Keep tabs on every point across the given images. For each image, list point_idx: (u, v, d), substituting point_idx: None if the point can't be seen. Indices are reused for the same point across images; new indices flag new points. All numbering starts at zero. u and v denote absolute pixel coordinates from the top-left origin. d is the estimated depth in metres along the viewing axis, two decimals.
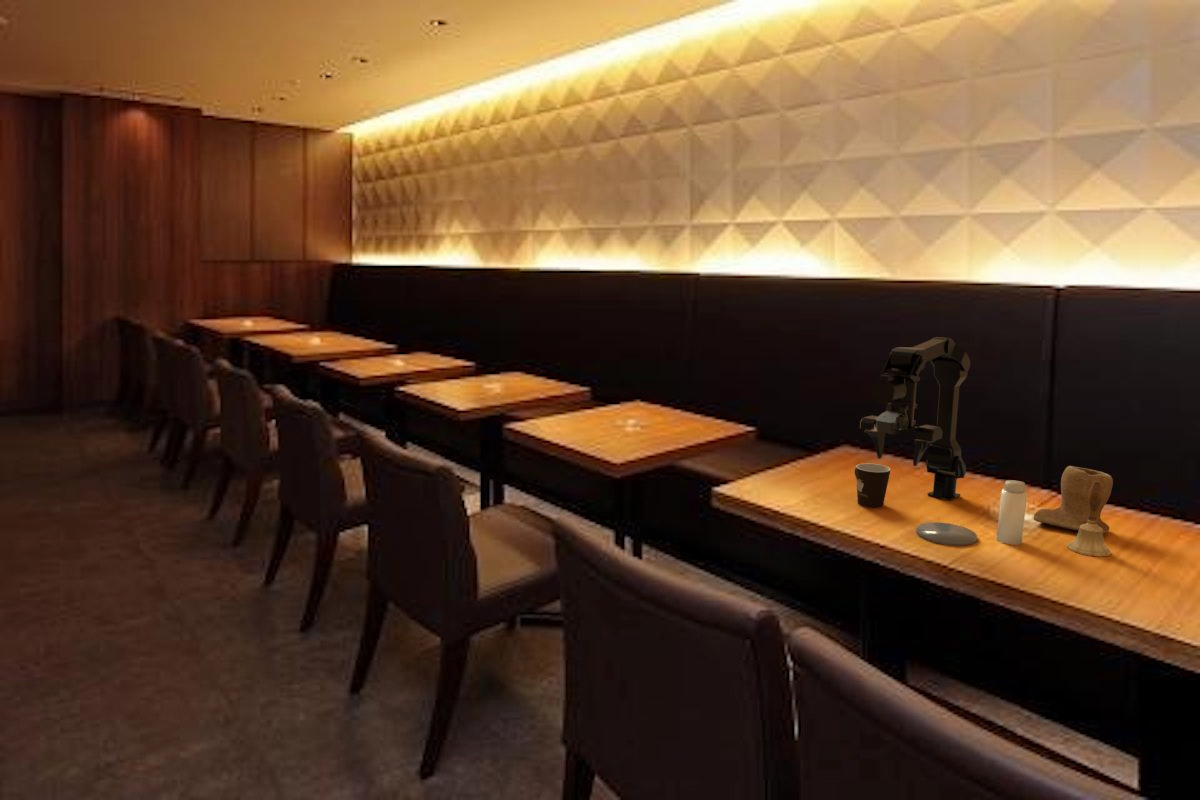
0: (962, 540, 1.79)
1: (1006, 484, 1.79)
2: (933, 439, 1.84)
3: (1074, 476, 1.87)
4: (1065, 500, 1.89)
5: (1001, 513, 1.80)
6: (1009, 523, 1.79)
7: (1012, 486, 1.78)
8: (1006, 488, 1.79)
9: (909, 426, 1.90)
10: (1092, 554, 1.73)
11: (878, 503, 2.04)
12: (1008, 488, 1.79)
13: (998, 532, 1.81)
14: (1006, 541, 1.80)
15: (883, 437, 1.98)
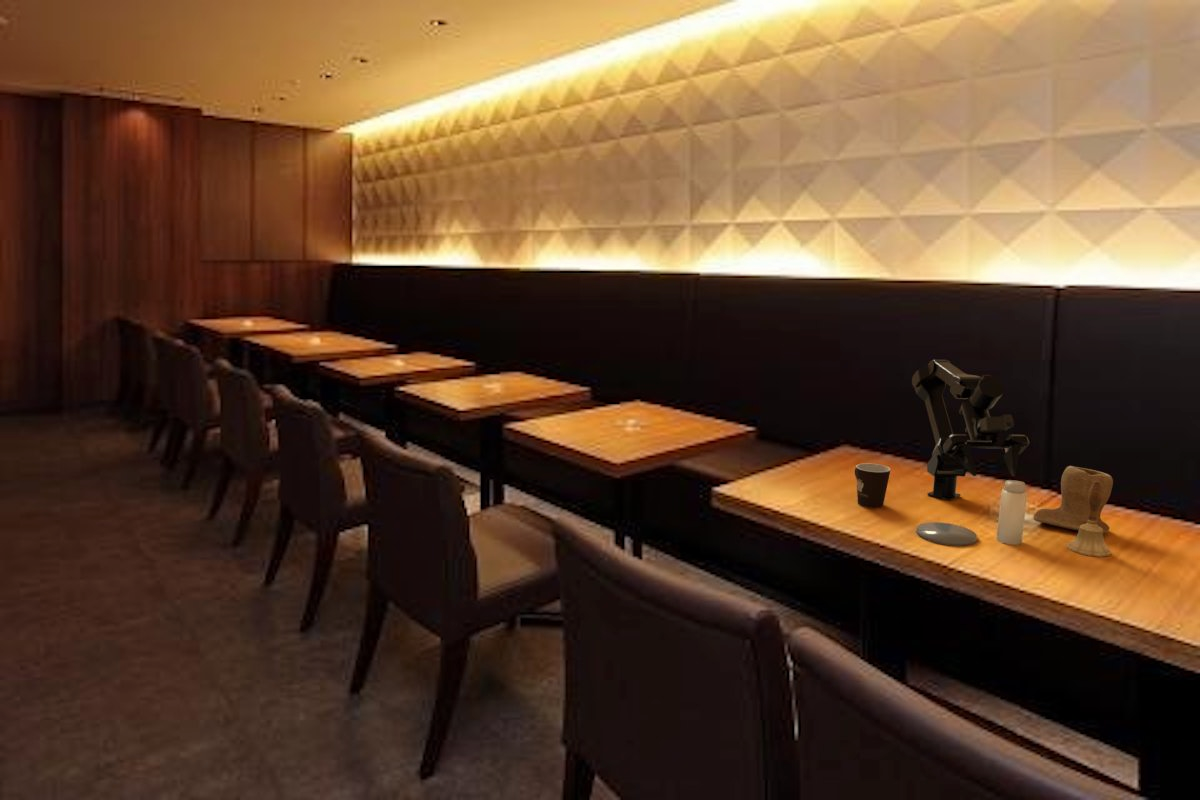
0: (962, 540, 1.79)
1: (1006, 484, 1.79)
2: None
3: (1074, 476, 1.87)
4: (1065, 500, 1.89)
5: (1001, 513, 1.80)
6: (1009, 523, 1.79)
7: (1012, 486, 1.78)
8: (1006, 488, 1.79)
9: None
10: (1092, 554, 1.73)
11: (878, 503, 2.04)
12: (1008, 488, 1.79)
13: (998, 532, 1.81)
14: (1006, 541, 1.80)
15: None
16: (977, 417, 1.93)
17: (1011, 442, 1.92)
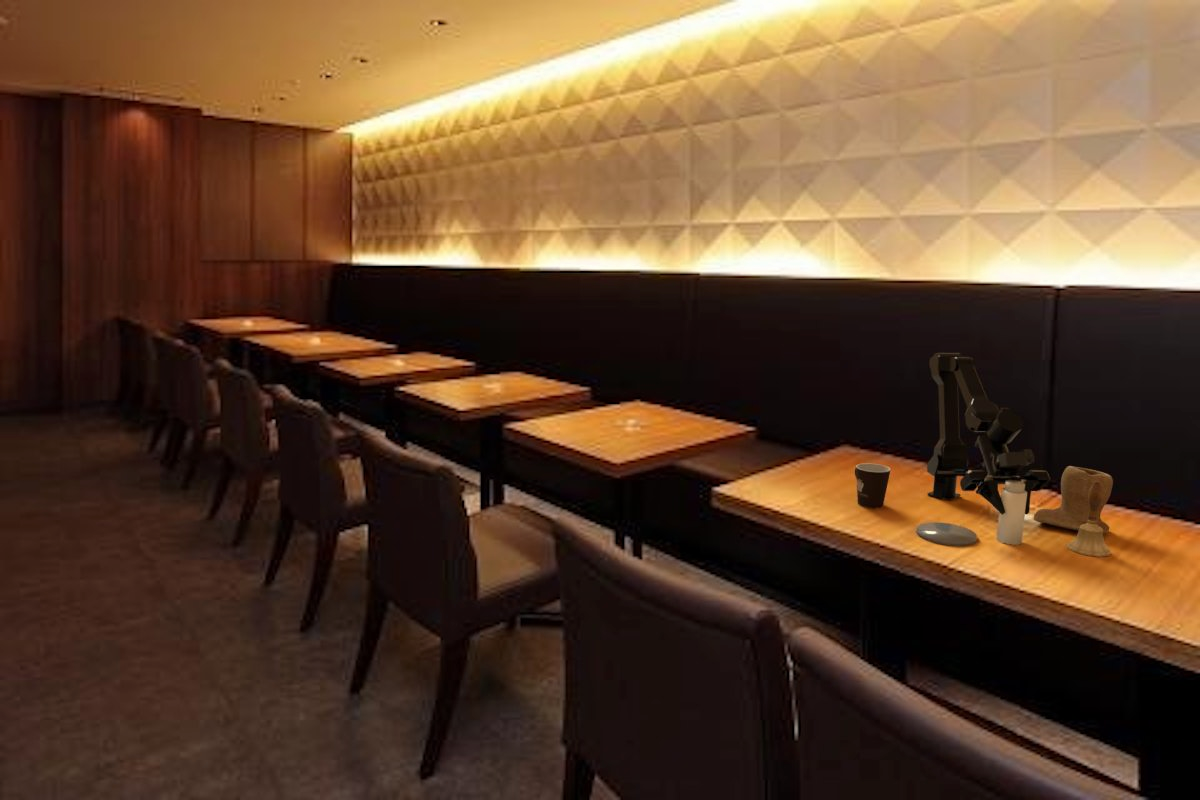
0: (962, 540, 1.79)
1: (1006, 484, 1.79)
2: None
3: (1074, 476, 1.87)
4: (1065, 500, 1.89)
5: None
6: (1009, 523, 1.79)
7: (1012, 486, 1.78)
8: (1006, 488, 1.79)
9: None
10: (1092, 554, 1.73)
11: (878, 503, 2.04)
12: (1008, 488, 1.79)
13: (998, 532, 1.81)
14: (1006, 541, 1.80)
15: None
16: (995, 452, 1.85)
17: (1023, 478, 1.84)
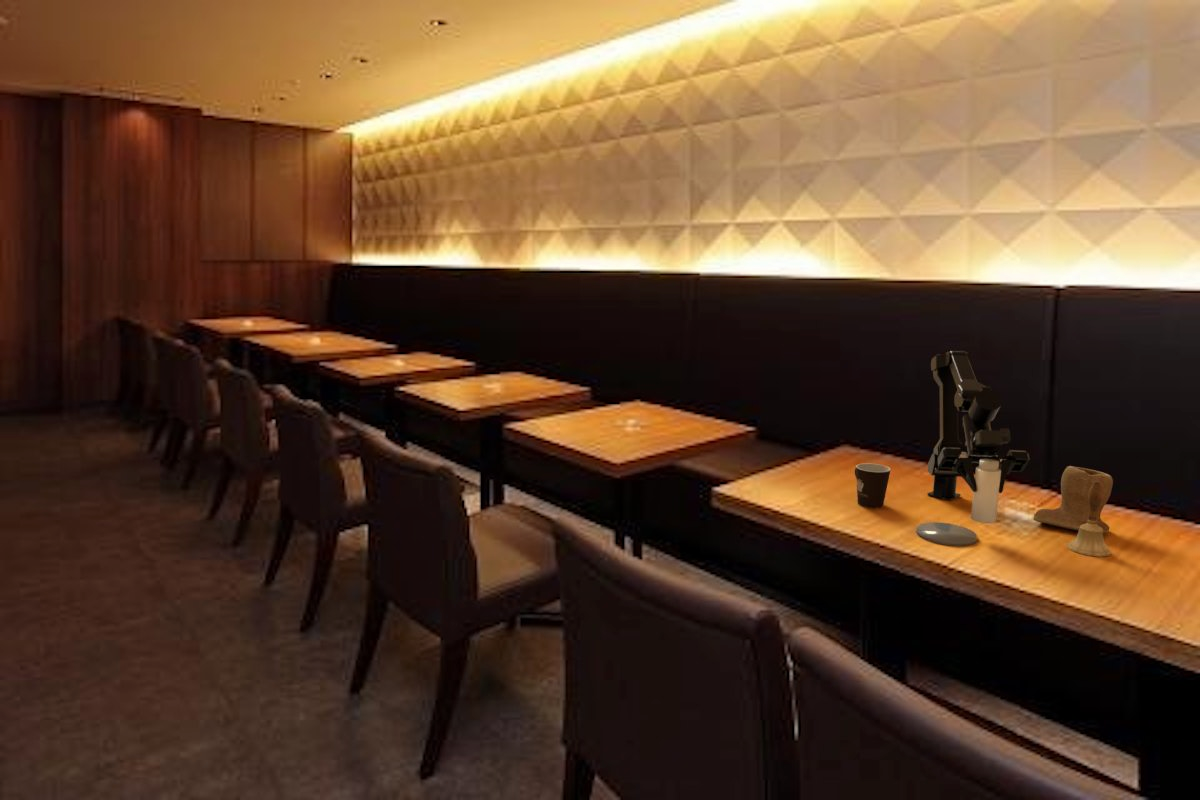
0: (962, 540, 1.79)
1: (979, 462, 1.79)
2: None
3: (1074, 476, 1.87)
4: (1065, 500, 1.89)
5: None
6: (981, 501, 1.79)
7: (984, 464, 1.78)
8: (979, 466, 1.79)
9: None
10: (1092, 554, 1.73)
11: (878, 503, 2.04)
12: (981, 466, 1.79)
13: (972, 510, 1.82)
14: (978, 519, 1.80)
15: None
16: (975, 430, 1.85)
17: (1003, 457, 1.83)
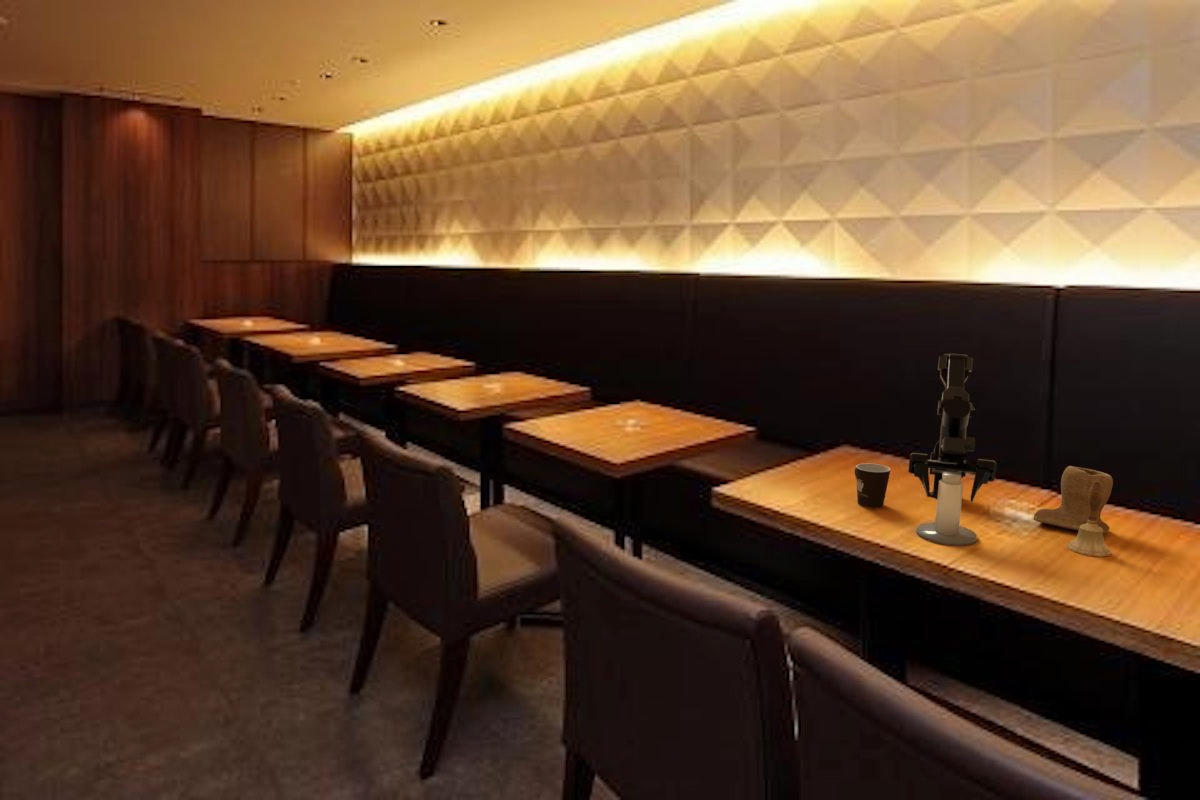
0: (962, 540, 1.79)
1: (942, 475, 1.83)
2: None
3: (1074, 476, 1.87)
4: (1065, 500, 1.89)
5: (937, 503, 1.84)
6: (941, 513, 1.82)
7: (945, 476, 1.81)
8: (942, 478, 1.83)
9: (964, 462, 1.85)
10: (1092, 554, 1.73)
11: (878, 503, 2.04)
12: (942, 479, 1.82)
13: (935, 521, 1.85)
14: (939, 530, 1.83)
15: None
16: None
17: None
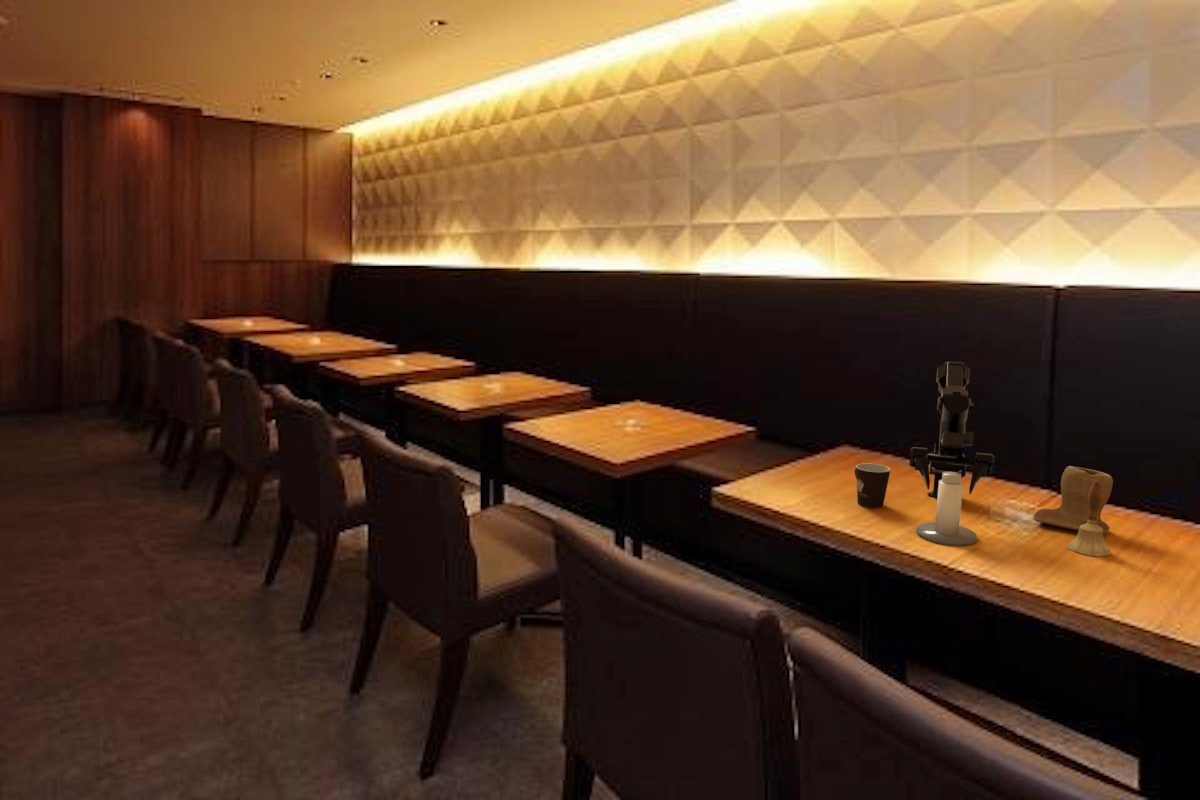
0: (962, 540, 1.79)
1: (942, 475, 1.83)
2: None
3: (1074, 476, 1.87)
4: (1065, 500, 1.89)
5: (937, 503, 1.84)
6: (941, 513, 1.82)
7: (945, 476, 1.81)
8: (942, 478, 1.83)
9: (963, 456, 1.91)
10: (1092, 554, 1.73)
11: (878, 503, 2.04)
12: (942, 479, 1.82)
13: (935, 521, 1.85)
14: (939, 530, 1.83)
15: None
16: None
17: (979, 460, 1.90)
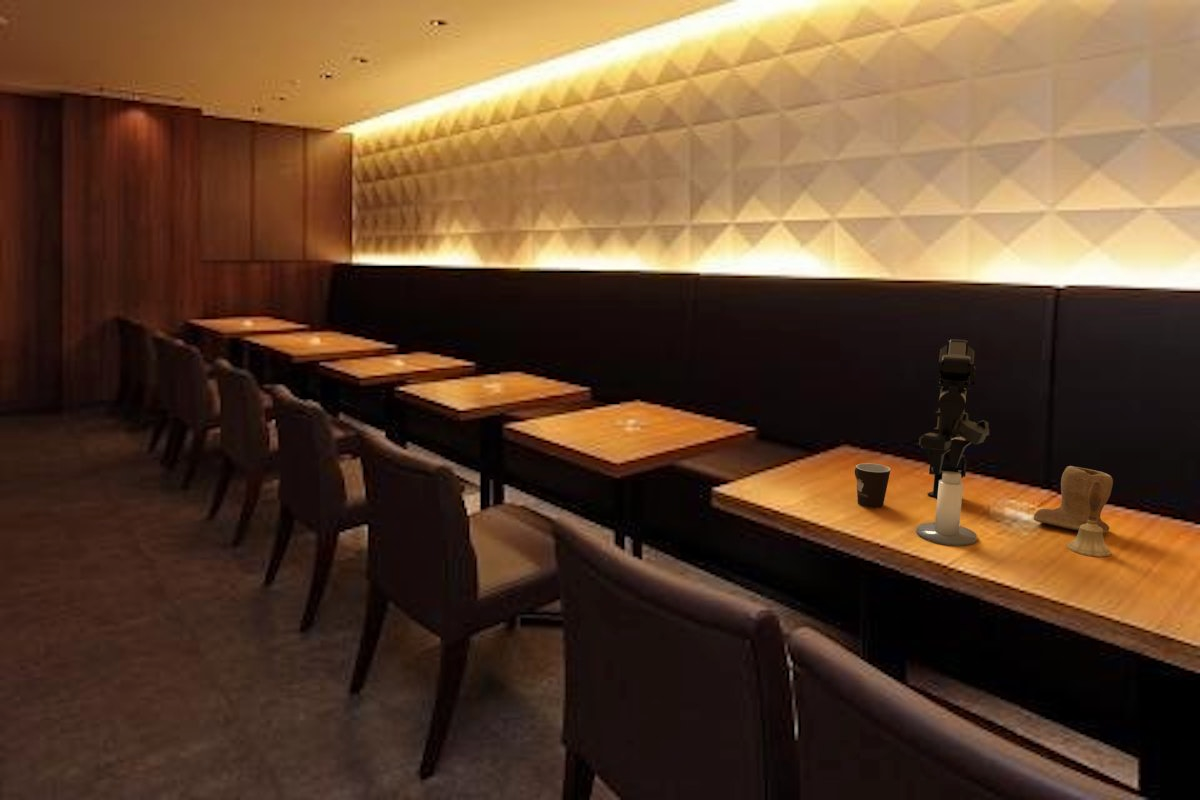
0: (962, 540, 1.79)
1: (942, 475, 1.83)
2: None
3: (1074, 476, 1.87)
4: (1065, 500, 1.89)
5: (937, 503, 1.84)
6: (941, 513, 1.82)
7: (945, 476, 1.81)
8: (942, 478, 1.83)
9: None
10: (1092, 554, 1.73)
11: (878, 503, 2.04)
12: (942, 479, 1.82)
13: (935, 521, 1.85)
14: (939, 530, 1.83)
15: None
16: (960, 415, 1.87)
17: None
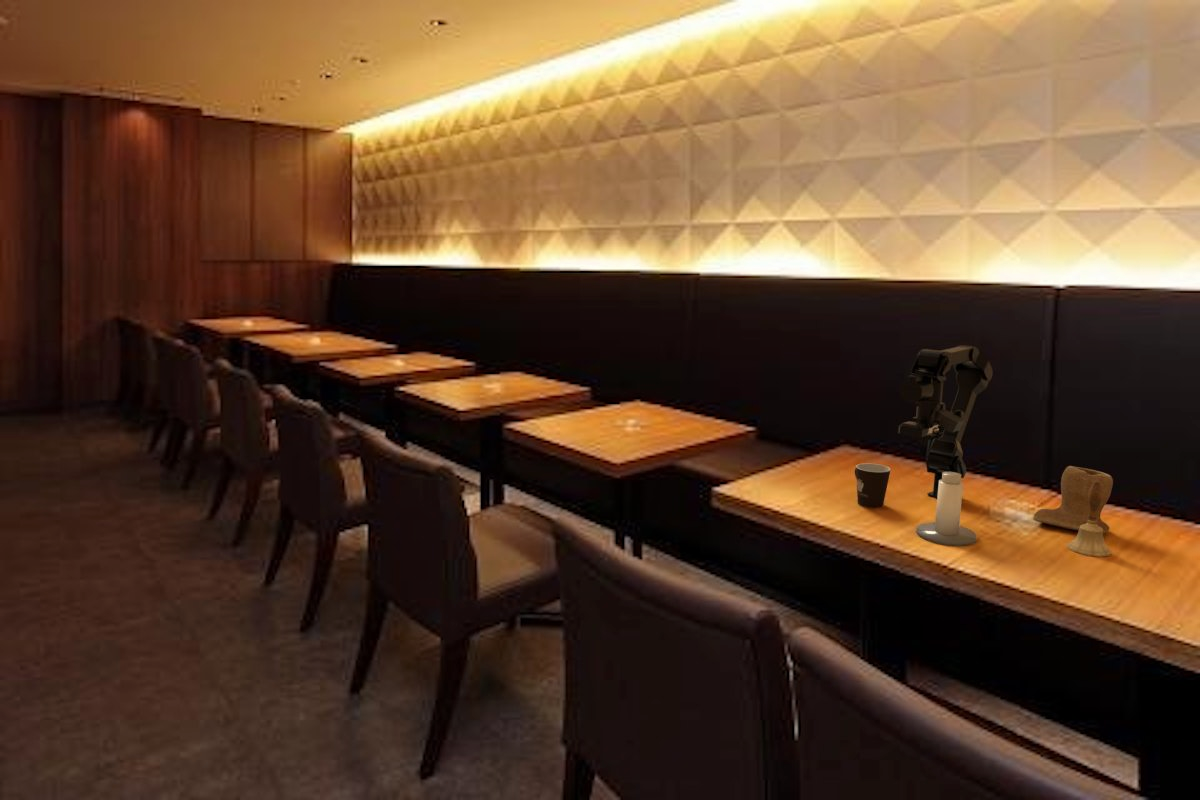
0: (962, 540, 1.79)
1: (942, 474, 1.83)
2: None
3: (1074, 476, 1.87)
4: (1065, 500, 1.89)
5: None
6: (941, 513, 1.82)
7: (945, 476, 1.81)
8: (942, 478, 1.83)
9: None
10: (1092, 554, 1.73)
11: (878, 503, 2.04)
12: (942, 479, 1.82)
13: (935, 521, 1.85)
14: (939, 530, 1.83)
15: None
16: (937, 405, 1.99)
17: None
